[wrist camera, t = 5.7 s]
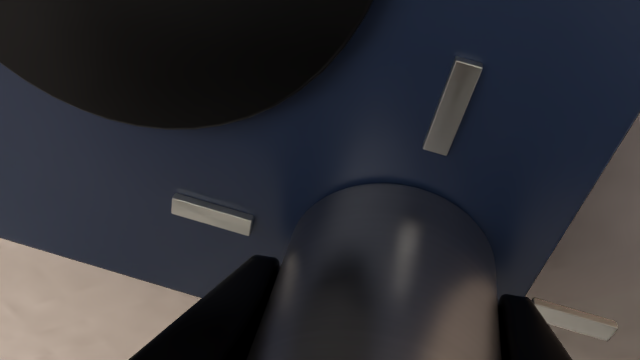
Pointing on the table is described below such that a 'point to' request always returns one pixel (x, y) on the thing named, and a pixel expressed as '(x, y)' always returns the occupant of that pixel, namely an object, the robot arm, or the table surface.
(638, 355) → the table surface
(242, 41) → the burner plate
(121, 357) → the table surface
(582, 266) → the table surface
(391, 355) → the stove knob
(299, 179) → the hot plate
